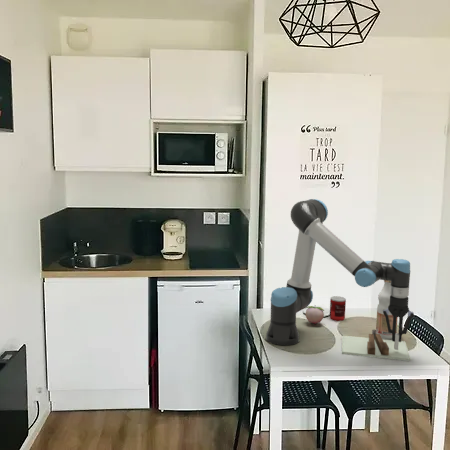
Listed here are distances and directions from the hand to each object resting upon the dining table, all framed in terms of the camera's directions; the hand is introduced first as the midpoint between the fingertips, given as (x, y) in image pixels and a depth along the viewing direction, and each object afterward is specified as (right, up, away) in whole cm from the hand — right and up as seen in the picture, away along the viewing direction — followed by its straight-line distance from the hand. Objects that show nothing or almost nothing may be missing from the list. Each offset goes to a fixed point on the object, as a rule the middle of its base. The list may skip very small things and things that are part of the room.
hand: (396, 348), depth 224 cm
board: (-8, -2, +6) cm, 10 cm away
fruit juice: (+2, 0, +21) cm, 22 cm away
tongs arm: (-5, -1, +5) cm, 7 cm away
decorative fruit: (-29, +3, +37) cm, 47 cm away
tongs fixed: (-9, -1, +7) cm, 11 cm away
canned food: (-16, +4, +46) cm, 49 cm away
